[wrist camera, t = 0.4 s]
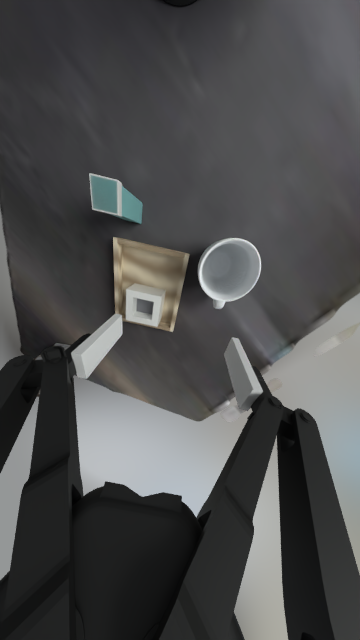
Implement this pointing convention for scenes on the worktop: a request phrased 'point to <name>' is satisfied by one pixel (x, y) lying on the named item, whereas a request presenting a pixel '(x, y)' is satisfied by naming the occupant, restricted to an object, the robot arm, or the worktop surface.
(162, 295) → the inlet
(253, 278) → the mug
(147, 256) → the wooden tray
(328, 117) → the worktop surface
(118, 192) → the plug
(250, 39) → the worktop surface
